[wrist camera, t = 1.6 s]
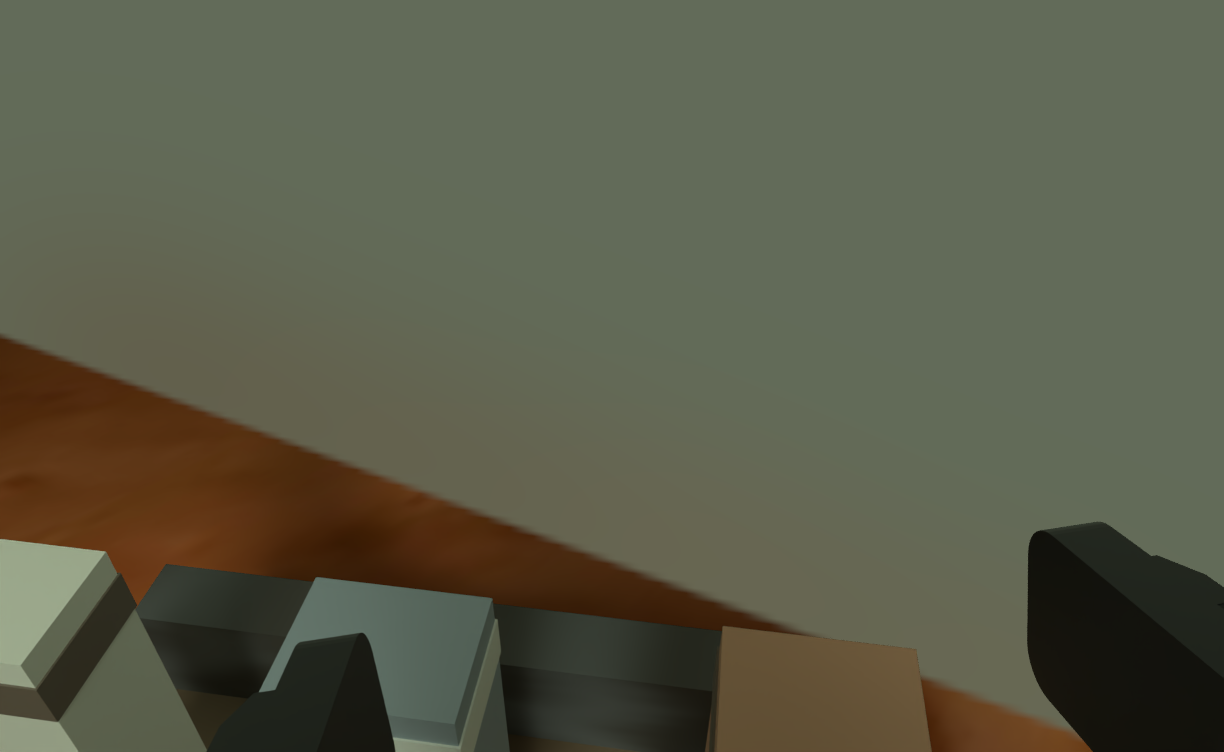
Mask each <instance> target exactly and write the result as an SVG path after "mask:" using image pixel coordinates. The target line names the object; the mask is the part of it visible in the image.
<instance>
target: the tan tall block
mask: <svg viewBox="0 0 1224 752" xmlns="http://www.w3.org/2000/svg"><path fill="white" fill-rule="evenodd" d="M705 752H932V751H931V744H930V738H929V731H928V724H927V718H926V711H925V704H924V698H923V691H922V684H921V678H920V671H919V665H918V659H917V651H916V649H910V648H902V647H893V646H885V645H877V644H869V643H860V642H852V641H844V640H835V639H827V638H819V637H810V636H802V635H794V634H786V633H777V632H769V631H761V630H752V629H744V628H736V627H727V626H723V628H722V635H721V642H720V647H719V646H717V653H716V660H715V667H714V675H713V687H712V705H711V713H710V720H709V727H708V734H707V741H706V748H705Z"/></svg>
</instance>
